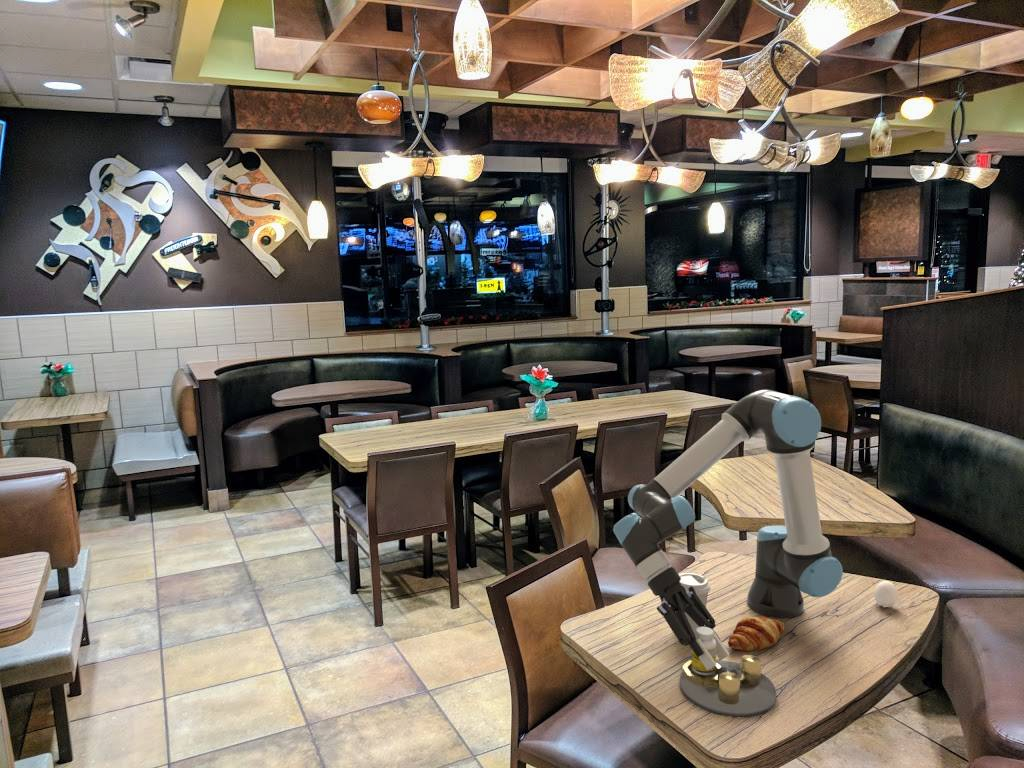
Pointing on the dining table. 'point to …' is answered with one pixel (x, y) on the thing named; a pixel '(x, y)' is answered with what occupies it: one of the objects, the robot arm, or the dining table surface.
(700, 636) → the supplement bottle
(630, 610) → the dining table surface
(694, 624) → the coffee cup
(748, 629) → the croissant
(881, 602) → the egg
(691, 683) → the carrier plate
